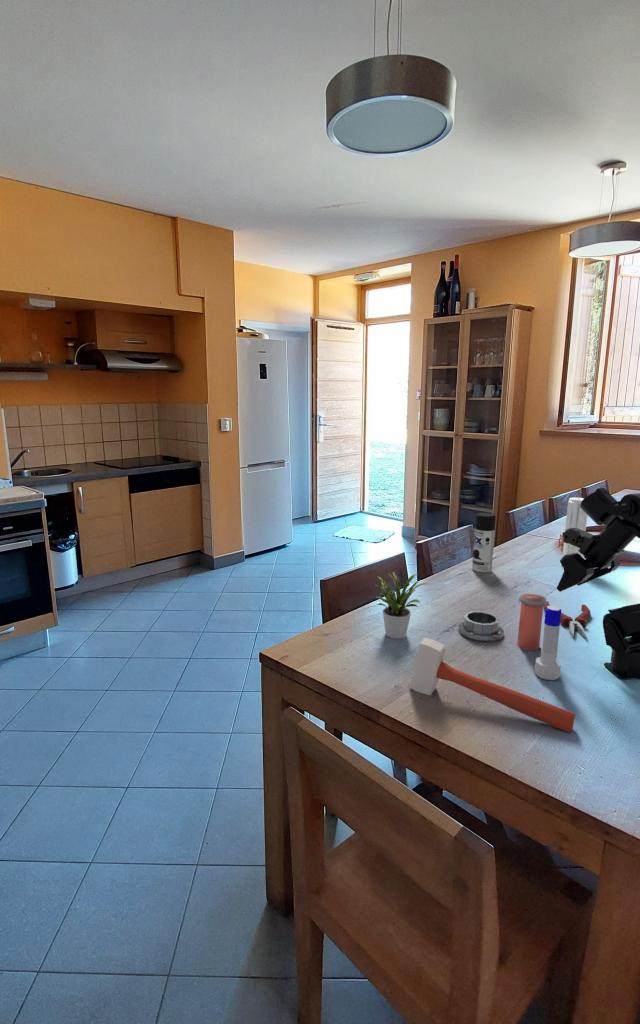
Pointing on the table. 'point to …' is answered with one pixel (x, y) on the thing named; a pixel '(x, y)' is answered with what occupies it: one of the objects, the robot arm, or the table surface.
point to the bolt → (549, 646)
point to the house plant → (397, 607)
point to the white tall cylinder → (574, 522)
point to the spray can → (483, 542)
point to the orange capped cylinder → (530, 620)
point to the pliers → (579, 621)
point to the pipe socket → (481, 627)
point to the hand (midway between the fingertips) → (567, 587)
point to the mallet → (481, 687)
